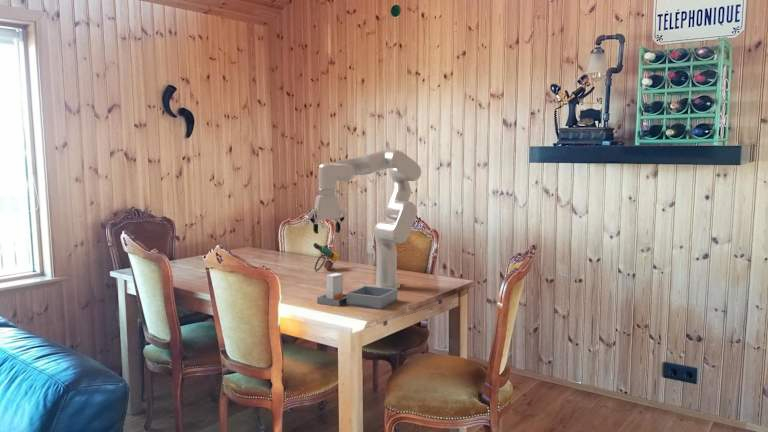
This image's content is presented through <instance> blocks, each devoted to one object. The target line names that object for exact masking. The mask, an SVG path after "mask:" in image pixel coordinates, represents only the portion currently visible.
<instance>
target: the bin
mask: <svg viewBox="0 0 768 432" xmlns="http://www.w3.org/2000/svg"><path fill="white" fill-rule="evenodd" d="M346 294H347V303H346V306H352V307H360V308H367V309H368V308H369V309H374V310H375V309H376V310H383V309H385V308H386V307H388V306H390V305H392V304H394V303H396V302H397V301H398V289H391V288H382V287H373V286H371V285H363V286H361V287H358V288H355V289H354V290H351V291H349V292H346Z"/></svg>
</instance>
